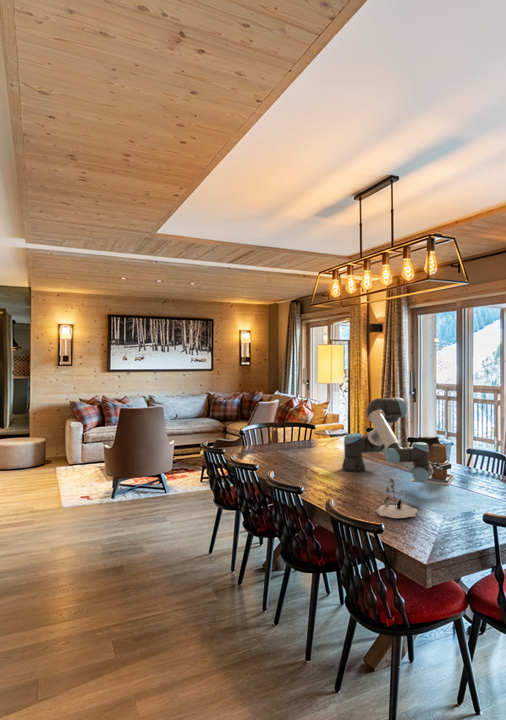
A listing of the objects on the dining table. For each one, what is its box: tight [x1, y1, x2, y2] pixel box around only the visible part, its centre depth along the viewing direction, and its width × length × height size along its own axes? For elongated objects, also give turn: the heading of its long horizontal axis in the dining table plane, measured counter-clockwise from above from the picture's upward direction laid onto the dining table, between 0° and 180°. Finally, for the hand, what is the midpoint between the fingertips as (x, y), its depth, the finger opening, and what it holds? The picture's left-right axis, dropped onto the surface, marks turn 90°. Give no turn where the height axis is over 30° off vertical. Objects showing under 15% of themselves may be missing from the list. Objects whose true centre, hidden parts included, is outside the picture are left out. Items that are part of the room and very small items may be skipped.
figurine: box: [376, 478, 418, 519], centre depth 208 cm, size 20×18×16 cm
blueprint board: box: [411, 473, 455, 486], centre depth 263 cm, size 20×18×2 cm
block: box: [430, 444, 448, 480], centre depth 262 cm, size 11×8×20 cm
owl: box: [418, 436, 441, 462], centre depth 296 cm, size 13×13×20 cm
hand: (434, 461), depth 253 cm, fingers open, 13 cm apart
